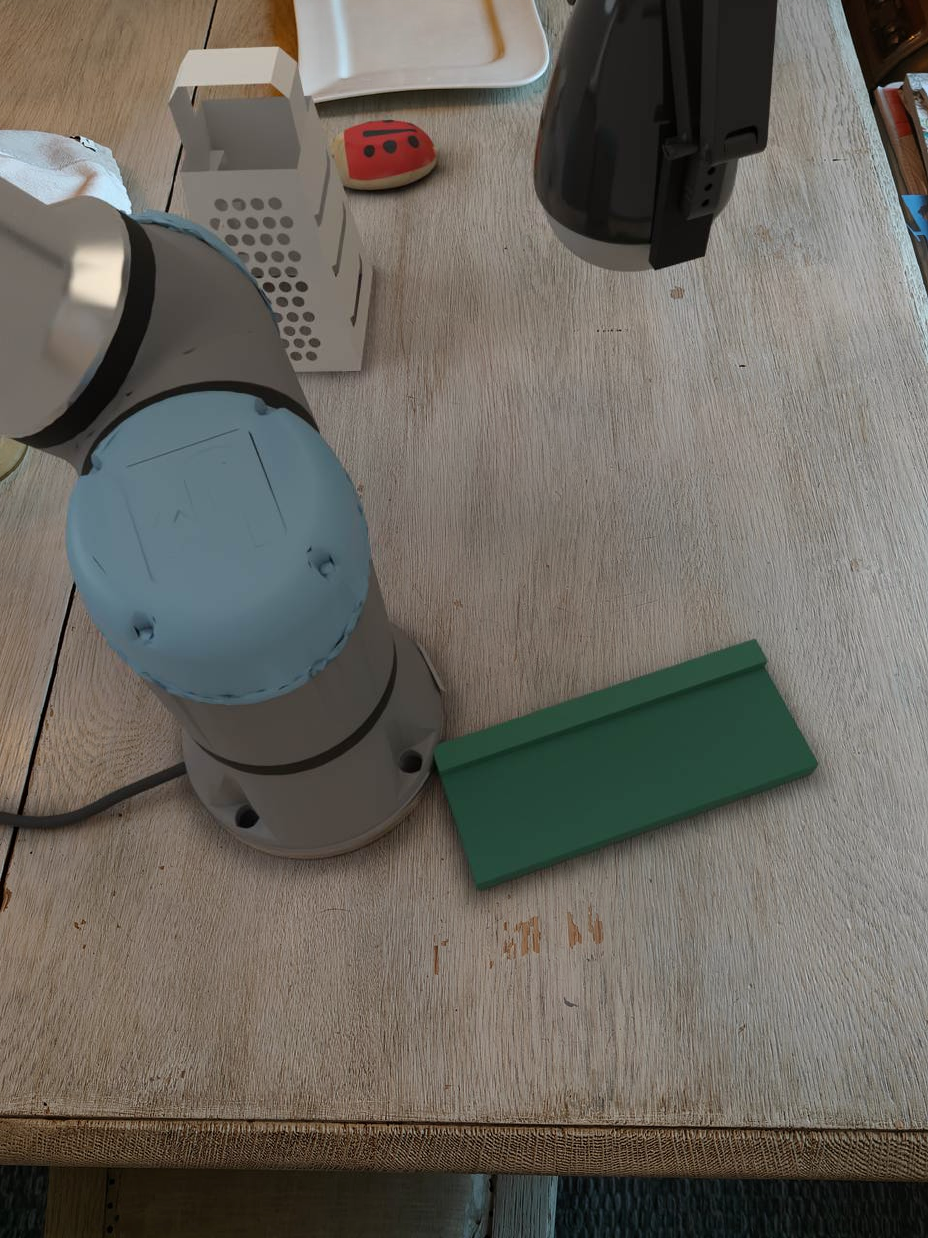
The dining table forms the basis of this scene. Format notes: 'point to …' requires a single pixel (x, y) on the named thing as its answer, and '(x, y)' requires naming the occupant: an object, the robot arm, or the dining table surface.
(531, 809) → the green ledged plate
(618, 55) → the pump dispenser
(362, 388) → the dining table surface
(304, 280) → the grater
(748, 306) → the dining table surface
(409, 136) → the ladybug figurine
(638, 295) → the dining table surface
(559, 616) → the dining table surface
